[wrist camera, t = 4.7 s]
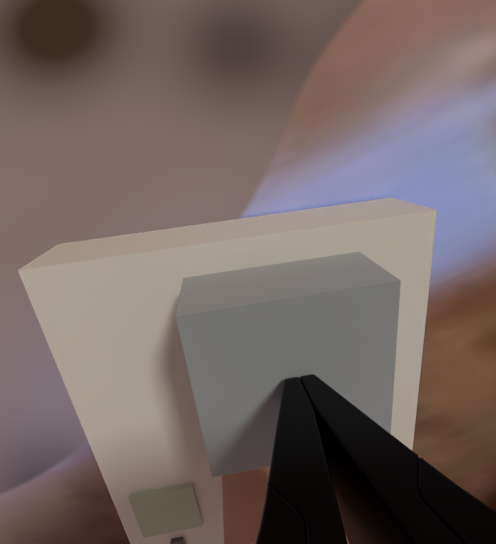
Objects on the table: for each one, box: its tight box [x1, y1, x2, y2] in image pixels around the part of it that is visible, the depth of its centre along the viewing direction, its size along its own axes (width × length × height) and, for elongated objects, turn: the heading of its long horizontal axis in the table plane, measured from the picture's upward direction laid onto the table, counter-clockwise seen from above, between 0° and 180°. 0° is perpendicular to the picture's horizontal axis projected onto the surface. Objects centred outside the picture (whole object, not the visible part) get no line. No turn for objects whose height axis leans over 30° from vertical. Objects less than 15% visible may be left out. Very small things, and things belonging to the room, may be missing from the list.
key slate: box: [175, 252, 401, 477], centre depth 10 cm, size 6×6×2 cm
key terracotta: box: [222, 467, 349, 544], centre depth 12 cm, size 6×6×2 cm
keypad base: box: [18, 198, 437, 544], centre depth 18 cm, size 14×31×3 cm, turn 7°
